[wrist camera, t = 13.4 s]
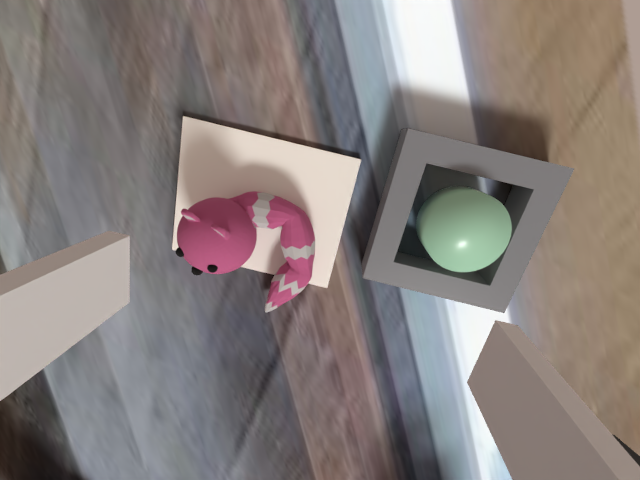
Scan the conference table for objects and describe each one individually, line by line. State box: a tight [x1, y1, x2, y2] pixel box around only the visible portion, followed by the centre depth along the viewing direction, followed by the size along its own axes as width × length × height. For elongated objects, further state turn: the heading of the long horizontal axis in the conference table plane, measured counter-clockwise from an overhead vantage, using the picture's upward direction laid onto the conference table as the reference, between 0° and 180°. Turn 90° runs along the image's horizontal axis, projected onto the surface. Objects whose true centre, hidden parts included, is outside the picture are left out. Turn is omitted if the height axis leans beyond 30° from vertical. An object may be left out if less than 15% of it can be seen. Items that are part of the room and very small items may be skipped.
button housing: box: [361, 128, 574, 313], centre depth 26 cm, size 12×12×3 cm
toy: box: [176, 191, 315, 312], centre depth 27 cm, size 11×9×10 cm
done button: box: [416, 186, 512, 272], centre depth 24 cm, size 6×6×3 cm
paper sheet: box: [172, 116, 361, 288], centre depth 28 cm, size 15×12×1 cm
